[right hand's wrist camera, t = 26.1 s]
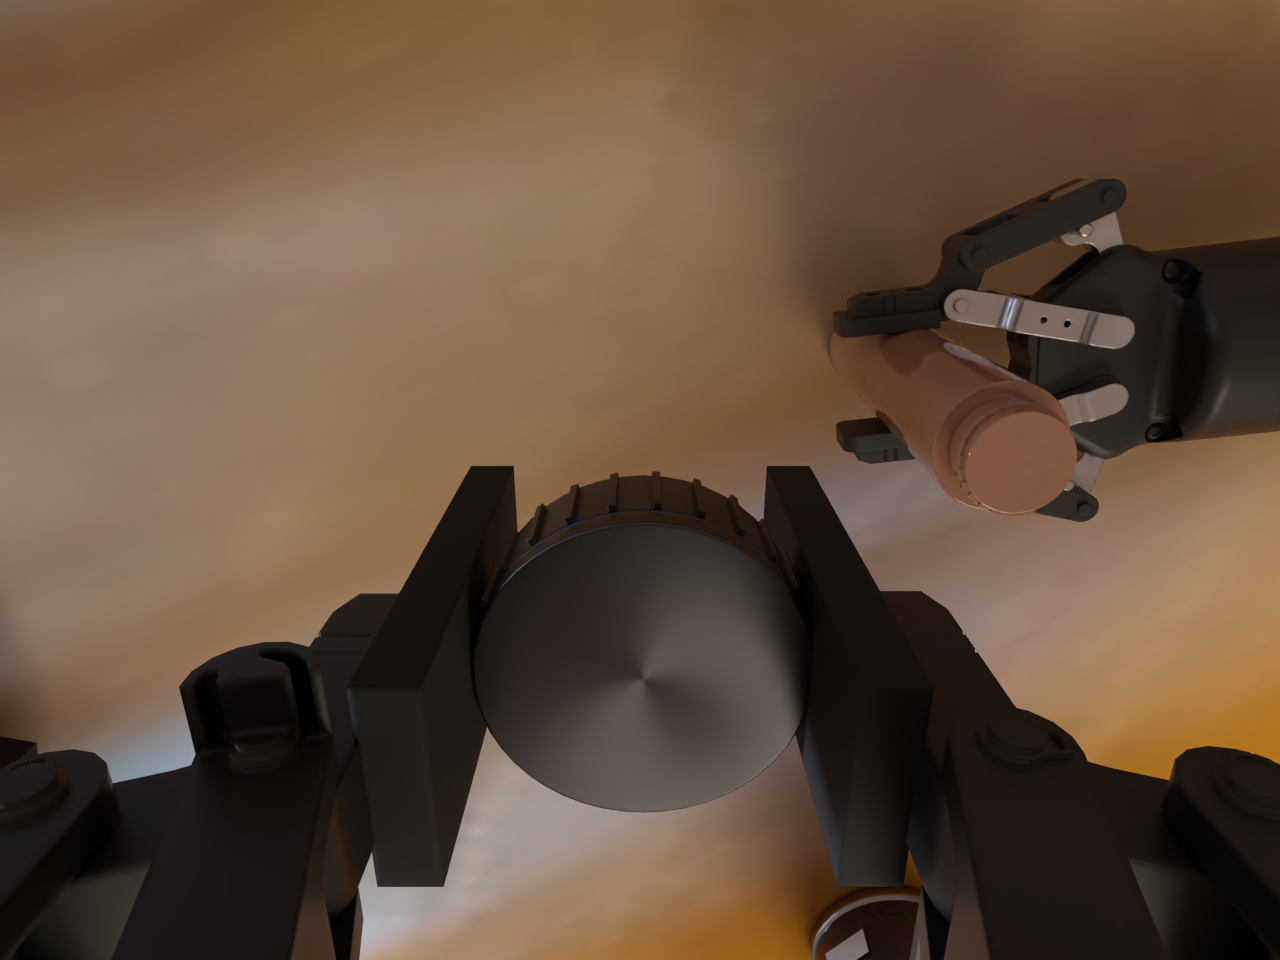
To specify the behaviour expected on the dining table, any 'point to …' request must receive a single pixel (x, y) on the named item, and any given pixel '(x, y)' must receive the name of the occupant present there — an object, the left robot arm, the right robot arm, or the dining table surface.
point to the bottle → (963, 418)
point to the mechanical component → (15, 750)
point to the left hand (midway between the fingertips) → (840, 383)
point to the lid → (642, 645)
